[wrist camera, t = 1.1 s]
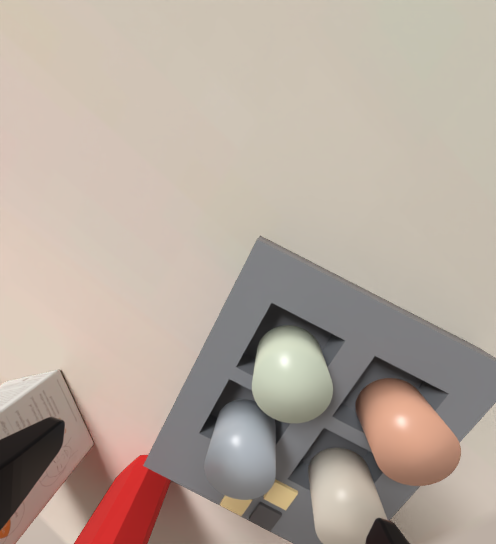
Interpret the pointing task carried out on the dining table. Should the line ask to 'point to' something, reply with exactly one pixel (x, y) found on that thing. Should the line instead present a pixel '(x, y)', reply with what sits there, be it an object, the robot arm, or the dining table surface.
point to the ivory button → (343, 497)
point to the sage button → (291, 375)
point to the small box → (27, 411)
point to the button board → (343, 371)
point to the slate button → (242, 451)
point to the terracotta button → (406, 433)
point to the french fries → (127, 507)
